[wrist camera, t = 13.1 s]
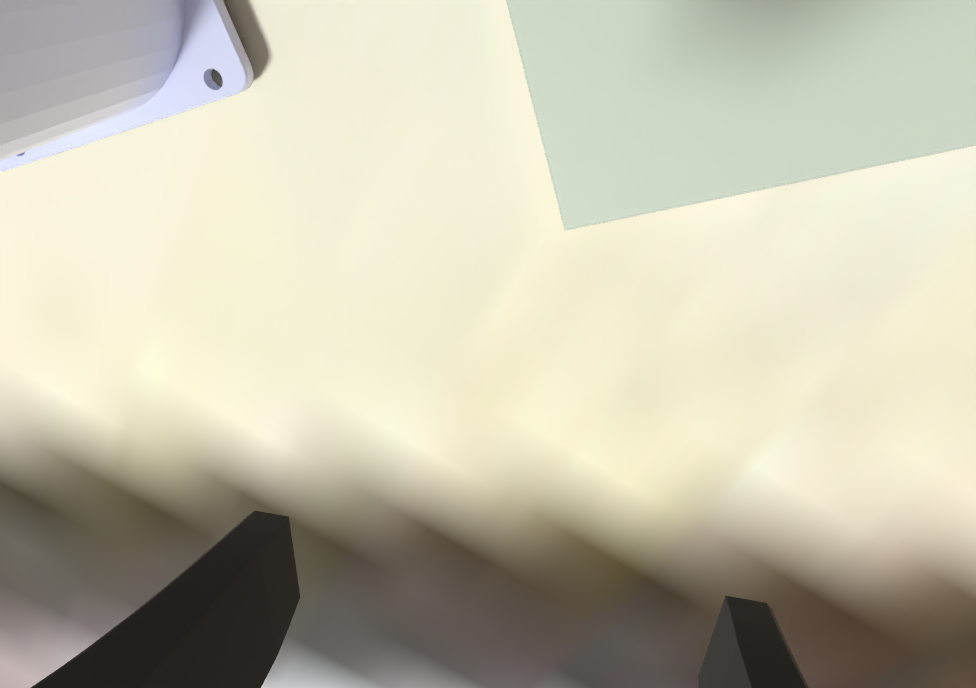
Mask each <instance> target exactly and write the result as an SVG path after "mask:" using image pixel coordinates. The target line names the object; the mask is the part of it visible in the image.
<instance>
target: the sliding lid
mask: <svg viewBox="0 0 976 688" xmlns="http://www.w3.org/2000/svg"><path fill="white" fill-rule="evenodd" d="M506 1H507V5H508V9H509V13H510V17H511V21H512V25H513V29H514V33H515V37H516V40H517V44H518V48H519V52H520V56H521V60H522V64H523V68H524V72H525V76H526V80H527V84H528V88H529V92H530V95H531V99H532V103H533V107H534V111H535V115H536V119H537V123H538V127H539V131H540V135H541V139H542V143H543V147H544V150H545V154H546V158H547V162H548V166H549V170H550V174H551V178H552V182H553V186H554V190H555V194H556V198H557V202H558V205H559V209H560V213H561V217H562V221H563V225H564V229H565V231H566V230H571V229H576V228H580V227H585V226H590V225H595V224H600V223H604V222H609V221H614V220H619V219H624V218H629V217H633V216H638V215H643V214H648V213H653V212H657V211H662V210H667V209H672V208H677V207H682V206H686V205H691V204H696V203H701V202H706V201H710V200H715V199H720V198H725V197H730V196H735V195H739V194H744V193H749V192H754V191H759V190H763V189H768V188H773V187H778V186H783V185H788V184H792V183H797V182H802V181H807V180H812V179H816V178H821V177H826V176H831V175H836V174H841V173H845V172H850V171H855V170H860V169H865V168H870V167H874V166H879V165H884V164H889V163H894V162H898V161H903V160H908V159H913V158H918V157H923V156H927V155H932V154H937V153H942V152H947V151H951V150H956V149H961V148H966V147H971V146H976V0H506Z"/></svg>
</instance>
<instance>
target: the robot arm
mask: <svg viewBox="0 0 976 688" xmlns="http://www.w3.org/2000/svg"><path fill="white" fill-rule="evenodd" d="M213 69H214V70H216V71H218V72H219V73H220V75H221V76H222V80H223V84H222V87H220V86H218V85H217V84H216V83H215V82H214V81H213V79H212V74H211V73H212V70H213ZM253 76H254V73H253V69H252V66H251V63H250V61H249V59H248V57H247V54H246V52H245V50H244V47H243V45H242V43H241V41H240V38H239V36H238V34H237V31H236V29H235V27H234V25H233V22H232V20H231V18H230V15H229V13H228V11H227V8H226V6H225V4H224V2H223V0H0V171H6V170H9V169H12V168H15V167H18V166H21V165H24V164H27V163H30V162H33V161H36V160H39V159H42V158H45V157H48V156H51V155H54V154H57V153H60V152H63V151H66V150H69V149H72V148H75V147H78V146H81V145H84V144H87V143H90V142H93V141H96V140H99V139H102V138H105V137H108V136H111V135H114V134H117V133H120V132H123V131H126V130H129V129H132V128H135V127H138V126H141V125H144V124H147V123H150V122H153V121H156V120H159V119H162V118H165V117H168V116H171V115H174V114H177V113H180V112H183V111H186V110H189V109H193V108H196V107H199V106H202V105H205V104H208V103H211V102H214V101H217V100H220V99H223V98H226V97H229V96H232V95H235V94H238V93H240V92H243V91H245V90H246V89H248V88H249V87H250V86H251V84H252V82H253ZM299 599H300V593H299V586H298V579H297V572H296V565H295V558H294V551H293V544H292V537H291V530H290V523H289V517H287V516H282V515H276V514H271V513H265V512H260V511H254V512H253V513H251V514H250V515H249V516H247V517H246V518H245V519H244V520H243V521H242V522H240V523H239V524H238V525H237V526H236V527H235V528H233V529H232V530H231V531H230V532H229V533H228V534H227V535H225V536H224V537H223V538H222V539H221V540H220V541H219V542H217V543H216V544H215V545H214V546H213V547H212V548H211V549H209V550H208V551H207V552H206V553H205V554H204V555H202V556H201V557H200V558H199V559H198V560H197V561H195V562H194V563H193V564H192V565H191V566H190V567H188V568H187V569H186V570H185V571H184V572H183V573H181V574H180V575H179V576H178V577H177V578H175V579H174V580H173V581H172V582H170V583H169V584H168V585H167V586H166V587H164V588H163V589H162V590H161V591H160V592H158V593H157V594H156V595H155V596H153V597H152V598H151V599H150V600H149V601H147V602H146V603H145V604H144V605H143V606H141V607H140V608H139V609H138V610H136V611H135V612H134V613H133V614H131V615H130V616H129V617H127V618H126V619H125V620H123V621H122V622H121V623H119V624H118V625H117V626H116V627H114V628H113V629H112V630H110V631H109V632H108V633H106V634H105V635H104V636H102V637H101V638H100V639H98V640H97V641H96V642H95V643H93V644H92V645H91V646H89V647H88V648H87V649H85V650H84V651H83V652H81V653H80V654H78V655H77V656H76V657H74V658H73V659H72V660H70V661H69V662H67V663H66V664H65V665H63V666H62V667H60V668H59V669H57V670H56V671H55V672H53V673H52V674H50V675H49V676H47V677H46V678H44V679H43V680H41V681H40V682H39V683H37V684H36V685H34V686H33V687H31V688H261V686H262V684H263V682H264V680H265V678H266V677H267V675H268V673H269V671H270V669H271V667H272V665H273V663H274V661H275V659H276V657H277V655H278V653H279V650H280V648H281V645H282V643H283V640H284V638H285V635H286V633H287V630H288V628H289V625H290V622H291V620H292V617H293V614H294V612H295V609H296V606H297V604H298V601H299ZM699 688H808V686H807V684H806V682H805V680H804V678H803V676H802V674H801V672H800V670H799V668H798V665H797V663H796V661H795V659H794V657H793V655H792V653H791V651H790V649H789V647H788V645H787V642H786V640H785V638H784V636H783V634H782V632H781V629H780V627H779V625H778V623H777V621H776V618H775V616H774V614H773V611H772V609H771V608H770V607H769V606H768V604H767V603H763V602H758V601H752V600H747V599H741V598H736V597H730V596H725V599H724V602H723V605H722V608H721V611H720V614H719V617H718V620H717V623H716V626H715V628H714V631H713V634H712V637H711V640H710V643H709V646H708V649H707V652H706V655H705V658H704V661H703V663H702V666H701V669H700V672H699Z"/></svg>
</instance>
